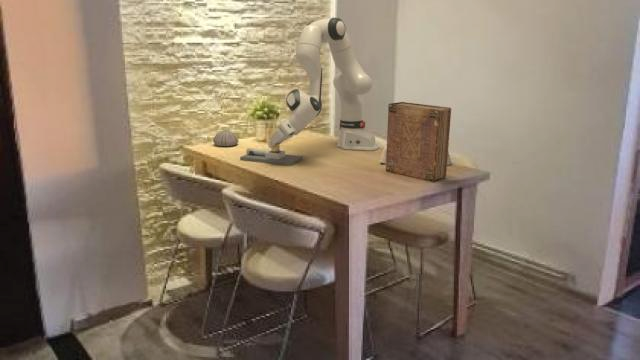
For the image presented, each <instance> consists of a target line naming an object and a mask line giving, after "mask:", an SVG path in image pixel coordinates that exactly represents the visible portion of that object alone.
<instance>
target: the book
mask: <svg viewBox="0 0 640 360" xmlns="http://www.w3.org/2000/svg"><path fill="white" fill-rule="evenodd" d="M387 112H388V113H387V133H386V135H387V136H386V146H387V154H386V164H385V172H388V173H393V174H396V175H400V176H401V175H402V176H406V177H409V178H413V179H417V180H418V179H419V180H422V181H427V182H429V183H430V182H432V183H435V182H436V181H437V180H440V179H447V170H448V165H447V158H448V152H449V145H450V143H449V141H450V129H451V118H452V108H451V107H446V106H440V105H431V104H430V105H429V104H422V103H421V104H420V103H414V102H404V101H399V102H394V103H388V110H387Z"/></svg>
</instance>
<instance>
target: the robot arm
mask: <svg viewBox="0 0 640 360" xmlns="http://www.w3.org/2000/svg"><path fill="white" fill-rule="evenodd" d="M346 30H347V29H346V24H345V22H344V21H343V19H342V18H339V17H331V18H330V17H329V18H328V17H327V18H322V19H318V20H315V21H309V22H308V23H307V24H305V26H303V28H302V30H301V32H300V36H299V38H298V41H297V47H296V52H295V58H296V61H297V63H298V64H299V66H300V67H301V68H302V69H303V70H304V72H305V73H306V74H307V76H308V79H309V85H308V88H309V89H308V93H306V92H305V91H303V90H301V89H297V88H294V89H292V90H291V91H289V93H288V94H287V96H286V99H285V102H286V106H287V108H288V110H290V111H291V113H290V114H289V116H288V117H286V119H285V120H283V121H282V122H281V123H279V125H278V127H277V128H276V130H274V132H273V133H272V134H271V135H270V137H269V143H268V145H267V146H268V147H269V149H271V147H273V146H274V144H277V143H279V142H280V144H282V143H283V142H285V141H286V140H289V139H292V138H293V137H294V136H298V135H299V134H300V133H301V132H302V131H303V130H304V129H305V127H306V126H307V125H308V124H309V123H311V122H312V121H313V120H314V119H315V118H316V117H317V116H319V115H320V113H321V111H322V109H323V107H322V106H323V104H322V103H323V102H322V84H323V68H322V65H321V49H322V44H327V43H328V47H329V50H330V53H331V56H332V60H333V62H334V65H335V67H336V68H337V69H338V70H339V72H338V73H336V74H335V75H334V77H333V81H332V83H333V86H334V87H333V88H335V89H336V92H337V93H338V98H339V102H340V120H339V136H338V137H339V138H338V142H337V144H336V145H337V147H339V148H340V149H343V150H351V151H352V150H355V151H369V152H370V151H376V150H378V149H379V148H380V144H378V143H376V137H375V135H374V134H373V132H371V131H370V130H369V129H367V128H366V123H367V122H366V121H364V120H363V105H362V103H361V102H360V100H359V98H358V97H359V96H361V95H366V94H368V93H369V92H371V90H372V88H373V80H372V78H371V77H370V76H369V75H368V74H367V73H366V72H365V71H364V70H363V68H362V66H361V65H360V63H359V62H358V59H357V58H356V57H357V56H356V54H355V51H354V48H353V44H352V42H351V39H350V37H349V34H348V33H347V31H346Z"/></svg>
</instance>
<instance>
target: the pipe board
mask: <svg viewBox="0 0 640 360" xmlns="http://www.w3.org/2000/svg"><path fill="white" fill-rule="evenodd" d="M303 156H304V155H295V154H286V150H280V153H271V149H263V148H262V149H261V148H253V147H247V148H246V154H244V155H241V156H240V157H239V158H240V159H239V160H240V161H244V162H245V161H246V162H256V163H264V164H273V165H282V166H292V165H294V164H296V163H298V162H300V161H302V160H303Z"/></svg>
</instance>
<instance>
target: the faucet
mask: <svg viewBox="0 0 640 360" xmlns="http://www.w3.org/2000/svg"><path fill="white" fill-rule="evenodd" d="M386 154H387V145H386V146H384V147H383V149H382V152H381V155H380V157H379V161H378V162H379V163H381V164H385V165H386Z"/></svg>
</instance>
